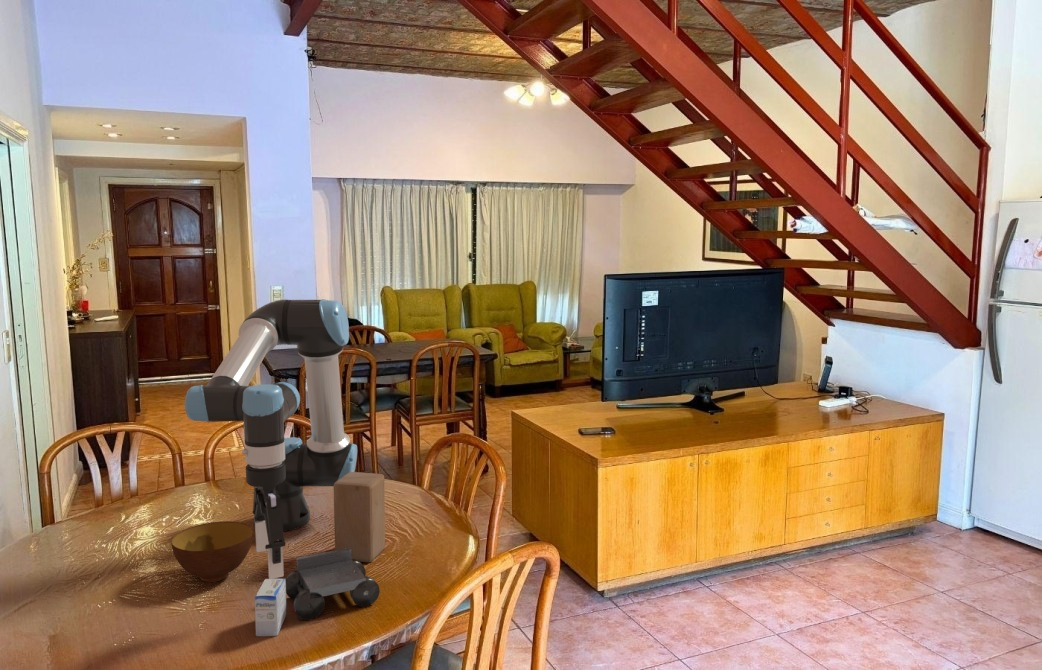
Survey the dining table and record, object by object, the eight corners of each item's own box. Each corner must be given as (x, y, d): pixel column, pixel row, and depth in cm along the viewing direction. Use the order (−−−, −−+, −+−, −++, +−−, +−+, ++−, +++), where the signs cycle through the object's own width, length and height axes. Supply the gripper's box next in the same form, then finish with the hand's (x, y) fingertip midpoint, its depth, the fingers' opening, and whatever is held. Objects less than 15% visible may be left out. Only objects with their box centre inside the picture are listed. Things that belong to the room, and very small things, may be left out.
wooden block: (371, 564, 183) (370, 485, 180) (333, 560, 185) (331, 482, 182) (386, 548, 193) (385, 473, 190) (350, 544, 195) (349, 470, 192)
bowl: (246, 590, 169) (244, 548, 167) (163, 596, 166) (161, 553, 165) (260, 558, 186) (258, 519, 185) (185, 562, 183) (183, 523, 182)
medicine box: (265, 617, 157) (263, 578, 156) (287, 616, 158) (285, 577, 156) (255, 637, 149) (253, 596, 148) (278, 636, 150) (276, 595, 149)
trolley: (283, 598, 165) (282, 560, 164) (363, 581, 174) (362, 544, 173) (296, 623, 155) (294, 582, 154) (379, 603, 164) (379, 564, 162)
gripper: (235, 448, 158) (240, 544, 161) (257, 484, 136) (261, 593, 139) (272, 444, 162) (276, 537, 165) (298, 478, 140) (302, 584, 143)
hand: (269, 563), depth 152 cm, fingers open, 13 cm apart
